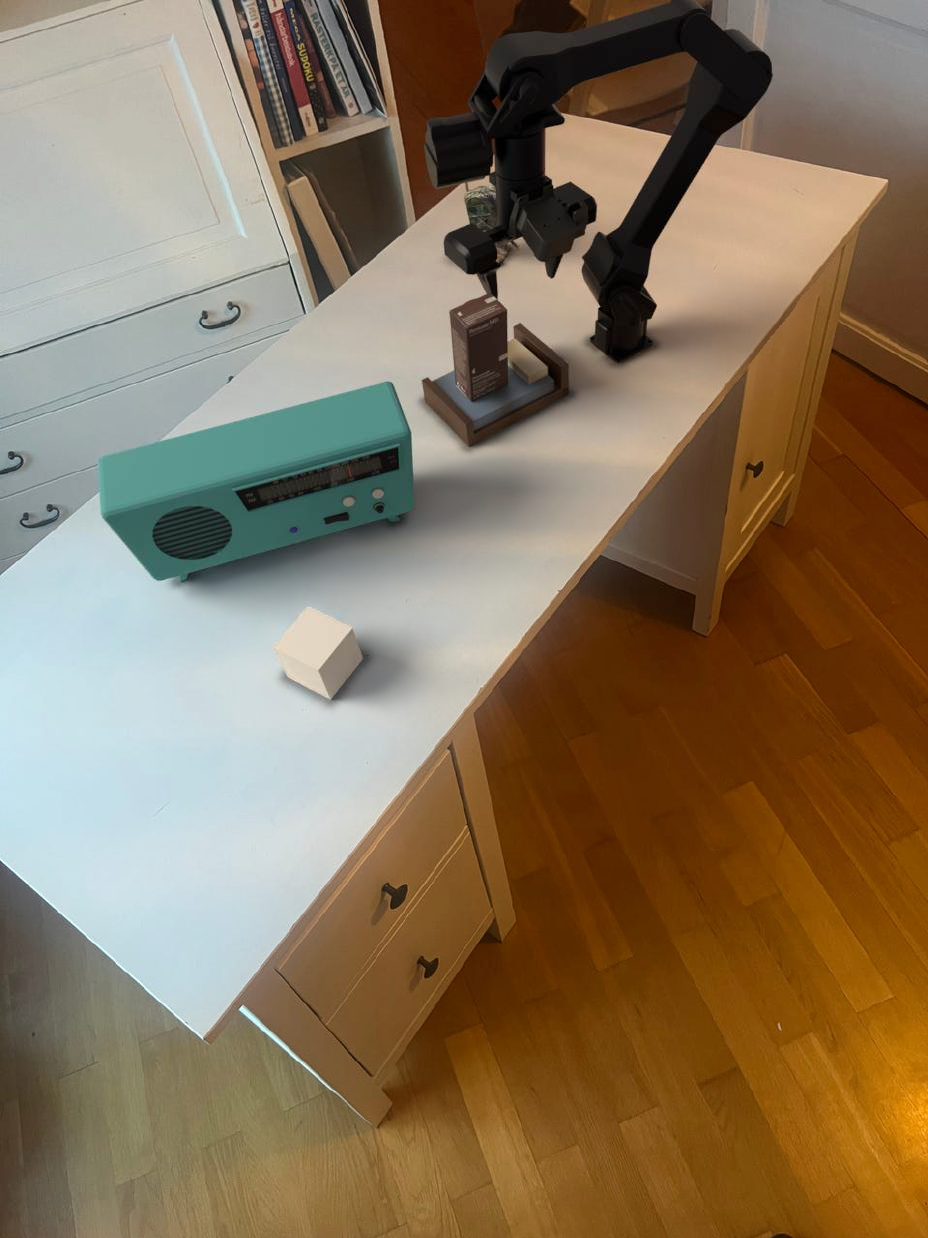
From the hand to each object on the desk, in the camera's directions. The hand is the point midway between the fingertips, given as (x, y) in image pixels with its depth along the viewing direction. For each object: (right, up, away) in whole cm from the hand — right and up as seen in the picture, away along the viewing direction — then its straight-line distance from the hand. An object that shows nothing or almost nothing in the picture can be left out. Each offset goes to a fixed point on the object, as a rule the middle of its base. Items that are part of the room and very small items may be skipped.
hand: (522, 289), depth 112 cm
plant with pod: (-4, +15, +26) cm, 31 cm away
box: (-5, -11, +4) cm, 13 cm away
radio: (-29, -32, -4) cm, 43 cm away
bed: (-3, -12, +7) cm, 14 cm away
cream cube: (-23, -47, -15) cm, 55 cm away
